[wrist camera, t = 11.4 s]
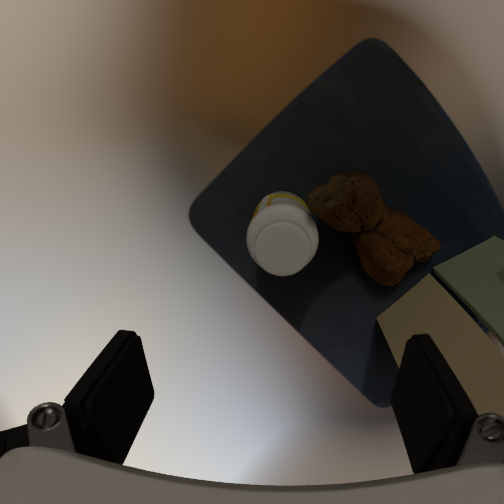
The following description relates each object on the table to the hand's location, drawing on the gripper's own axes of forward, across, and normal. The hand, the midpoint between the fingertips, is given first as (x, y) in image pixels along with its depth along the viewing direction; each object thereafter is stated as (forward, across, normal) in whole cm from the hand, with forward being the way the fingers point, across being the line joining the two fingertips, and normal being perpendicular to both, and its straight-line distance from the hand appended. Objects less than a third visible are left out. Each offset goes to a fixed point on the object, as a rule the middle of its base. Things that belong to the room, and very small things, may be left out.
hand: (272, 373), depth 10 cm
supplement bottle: (+23, 0, 0) cm, 23 cm away
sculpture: (+23, -10, -1) cm, 25 cm away
